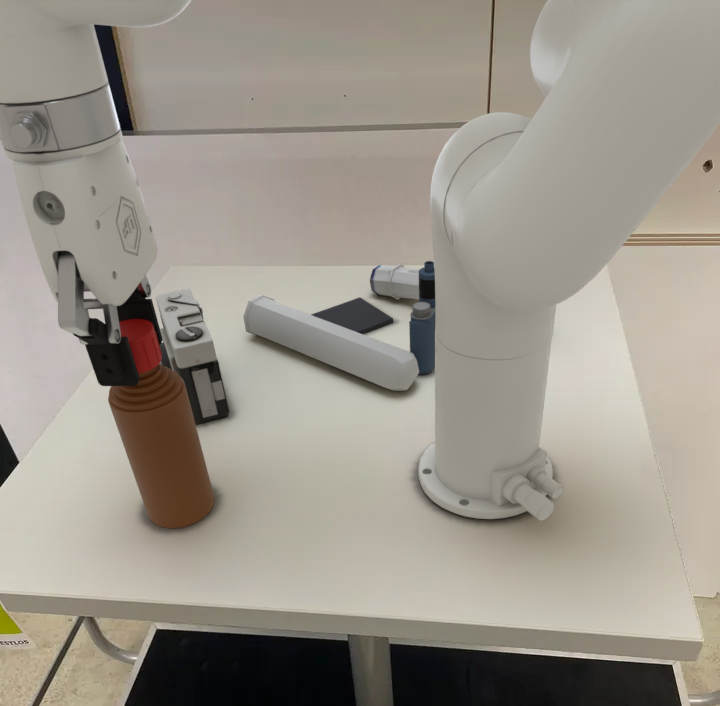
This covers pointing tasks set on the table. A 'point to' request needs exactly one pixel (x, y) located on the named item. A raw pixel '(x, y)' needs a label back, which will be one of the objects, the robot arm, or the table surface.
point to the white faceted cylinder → (395, 281)
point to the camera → (192, 354)
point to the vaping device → (424, 321)
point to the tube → (331, 343)
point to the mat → (355, 316)
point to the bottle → (163, 447)
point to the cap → (142, 343)
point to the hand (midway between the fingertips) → (132, 361)
